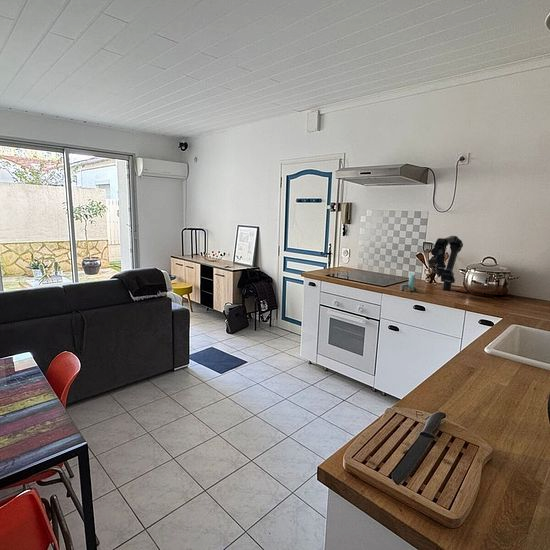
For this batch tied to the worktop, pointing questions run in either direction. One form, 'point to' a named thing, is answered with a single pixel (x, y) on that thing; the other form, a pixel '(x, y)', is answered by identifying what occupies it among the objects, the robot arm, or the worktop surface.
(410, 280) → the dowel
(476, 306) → the worktop surface
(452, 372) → the worktop surface
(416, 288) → the block
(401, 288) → the backstop
